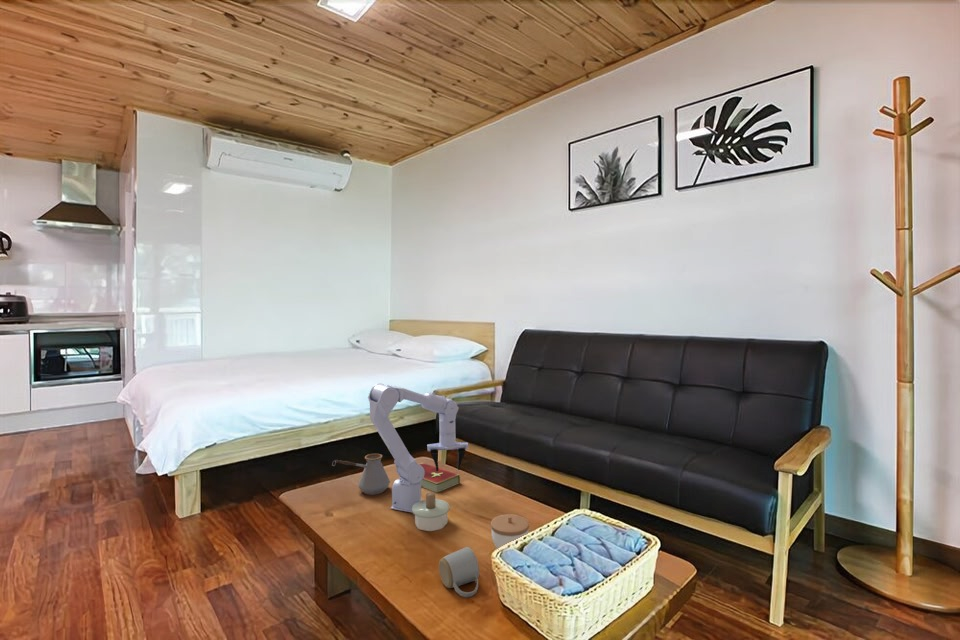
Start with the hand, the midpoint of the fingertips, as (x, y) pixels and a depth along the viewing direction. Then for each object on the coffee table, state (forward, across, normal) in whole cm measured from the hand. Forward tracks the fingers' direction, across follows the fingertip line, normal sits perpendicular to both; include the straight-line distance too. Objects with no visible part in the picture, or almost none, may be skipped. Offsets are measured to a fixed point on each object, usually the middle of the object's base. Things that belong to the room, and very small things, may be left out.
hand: (448, 469), depth 167 cm
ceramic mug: (+10, +1, -53) cm, 54 cm away
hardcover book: (+10, -7, +14) cm, 19 cm away
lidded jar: (+10, +16, -39) cm, 43 cm away
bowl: (+9, -6, -20) cm, 23 cm away
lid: (+5, -6, -20) cm, 22 cm away
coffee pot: (+10, -31, +5) cm, 33 cm away
